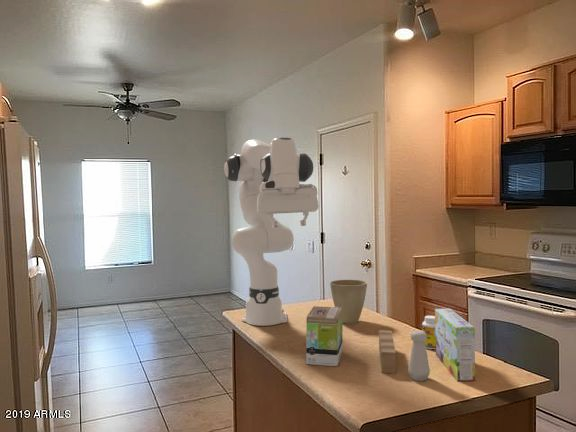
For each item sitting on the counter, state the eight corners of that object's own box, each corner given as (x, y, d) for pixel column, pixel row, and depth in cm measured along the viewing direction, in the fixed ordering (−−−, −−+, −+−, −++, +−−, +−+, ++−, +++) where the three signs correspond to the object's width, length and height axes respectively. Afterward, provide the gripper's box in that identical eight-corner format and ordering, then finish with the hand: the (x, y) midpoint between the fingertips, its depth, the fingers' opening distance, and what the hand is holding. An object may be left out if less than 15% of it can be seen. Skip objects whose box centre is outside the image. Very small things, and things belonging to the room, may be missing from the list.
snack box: (433, 355, 148) (433, 308, 147) (451, 355, 148) (451, 308, 147) (455, 381, 127) (455, 326, 126) (476, 381, 127) (476, 326, 126)
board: (379, 348, 155) (378, 330, 155) (391, 348, 155) (391, 330, 155) (381, 372, 134) (381, 352, 134) (395, 373, 133) (395, 352, 133)
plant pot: (374, 320, 190) (374, 281, 190) (354, 328, 179) (353, 287, 179) (344, 315, 200) (343, 277, 200) (322, 322, 189) (322, 282, 189)
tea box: (338, 367, 139) (338, 317, 138) (305, 365, 141) (304, 316, 140) (343, 350, 154) (342, 306, 153) (312, 349, 156) (312, 305, 155)
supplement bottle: (418, 346, 157) (418, 316, 157) (431, 343, 159) (431, 314, 159) (430, 351, 152) (430, 319, 152) (443, 348, 154) (443, 317, 154)
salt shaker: (417, 384, 125) (417, 335, 125) (403, 376, 131) (403, 330, 130) (434, 380, 128) (434, 333, 127) (420, 373, 133) (420, 327, 133)
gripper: (314, 185, 160) (317, 226, 158) (254, 187, 156) (257, 229, 154) (319, 181, 154) (322, 223, 152) (257, 183, 150) (259, 227, 148)
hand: (289, 226), depth 153 cm, fingers open, 8 cm apart
